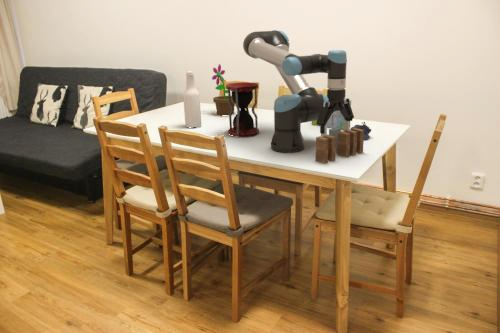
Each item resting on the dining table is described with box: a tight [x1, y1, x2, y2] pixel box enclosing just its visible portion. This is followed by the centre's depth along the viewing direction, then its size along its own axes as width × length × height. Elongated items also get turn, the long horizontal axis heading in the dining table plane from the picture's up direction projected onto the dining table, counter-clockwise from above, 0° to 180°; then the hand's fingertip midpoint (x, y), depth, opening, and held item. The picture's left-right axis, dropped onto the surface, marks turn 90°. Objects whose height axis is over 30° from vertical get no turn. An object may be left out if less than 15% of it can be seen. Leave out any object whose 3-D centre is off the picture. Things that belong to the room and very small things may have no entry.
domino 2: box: [328, 128, 342, 153], centre depth 191 cm, size 2×5×10 cm, turn 126°
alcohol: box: [182, 70, 202, 129], centre depth 239 cm, size 9×9×30 cm
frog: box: [350, 121, 372, 141], centre depth 211 cm, size 10×12×8 cm
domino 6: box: [352, 128, 365, 154], centre depth 190 cm, size 2×5×10 cm, turn 35°
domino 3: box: [324, 134, 336, 162], centre depth 180 cm, size 2×5×10 cm, turn 35°
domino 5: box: [345, 129, 357, 156], centre depth 187 cm, size 2×5×10 cm, turn 35°
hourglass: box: [225, 81, 260, 138], centre depth 223 cm, size 16×16×25 cm
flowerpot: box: [211, 64, 236, 116], centre depth 267 cm, size 14×14×30 cm
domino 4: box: [336, 130, 350, 158], centre depth 185 cm, size 2×5×10 cm, turn 35°
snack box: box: [311, 99, 352, 131], centre depth 233 cm, size 21×6×15 cm, turn 47°
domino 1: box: [315, 135, 329, 164], centre depth 178 cm, size 2×5×10 cm, turn 35°
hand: (335, 138), depth 191 cm, fingers open, 13 cm apart
